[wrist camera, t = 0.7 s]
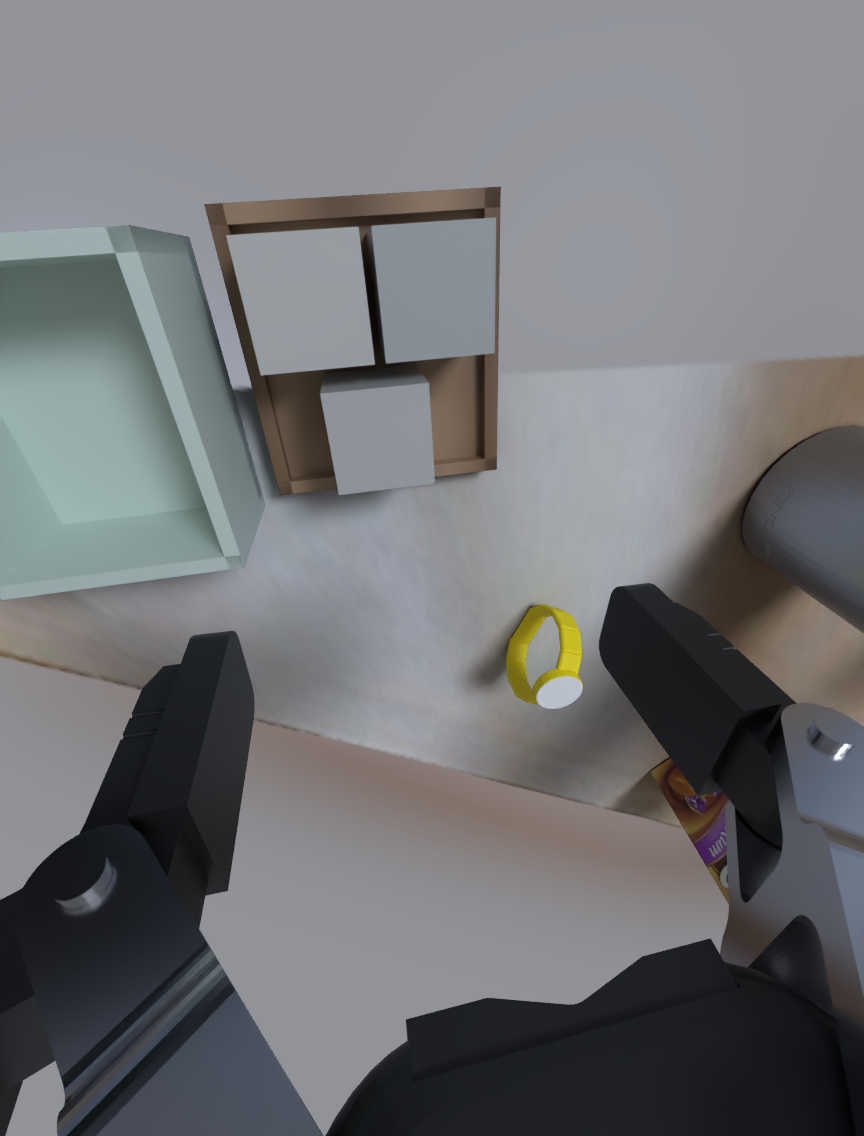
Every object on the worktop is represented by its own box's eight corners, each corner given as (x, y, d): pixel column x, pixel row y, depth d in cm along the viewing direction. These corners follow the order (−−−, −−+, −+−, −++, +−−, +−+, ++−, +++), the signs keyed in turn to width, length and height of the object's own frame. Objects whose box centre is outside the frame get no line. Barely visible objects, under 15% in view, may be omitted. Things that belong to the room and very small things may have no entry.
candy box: (726, 712, 40) (901, 916, 28) (749, 728, 42) (922, 925, 30) (645, 770, 43) (770, 978, 31) (670, 782, 45) (798, 982, 33)
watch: (523, 657, 33) (550, 730, 29) (489, 650, 32) (512, 723, 28) (569, 595, 30) (608, 665, 26) (533, 585, 29) (567, 656, 25)
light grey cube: (355, 234, 18) (358, 226, 15) (369, 348, 20) (374, 364, 17) (248, 241, 17) (225, 235, 14) (274, 357, 20) (260, 375, 16)
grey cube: (415, 364, 21) (428, 382, 17) (421, 452, 23) (435, 483, 20) (324, 373, 20) (320, 394, 17) (339, 461, 22) (338, 495, 19)
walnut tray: (490, 191, 18) (500, 186, 17) (489, 459, 24) (496, 469, 23) (213, 208, 17) (204, 204, 16) (283, 484, 23) (280, 495, 22)
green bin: (189, 237, 18) (128, 225, 13) (265, 504, 24) (244, 567, 19) (-91, 255, 17) (-274, 250, 12) (63, 529, 23) (-15, 602, 18)
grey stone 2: (468, 226, 18) (496, 217, 15) (470, 339, 20) (494, 353, 17) (366, 233, 18) (371, 225, 15) (379, 347, 20) (386, 363, 17)
